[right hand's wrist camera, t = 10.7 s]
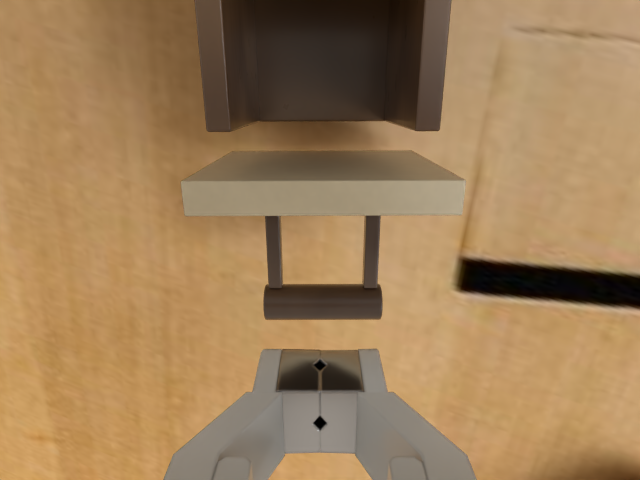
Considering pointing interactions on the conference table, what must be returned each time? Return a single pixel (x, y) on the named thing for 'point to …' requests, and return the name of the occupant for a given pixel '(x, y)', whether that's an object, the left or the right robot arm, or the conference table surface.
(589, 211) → the conference table surface
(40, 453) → the conference table surface
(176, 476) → the right robot arm
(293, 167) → the drawer
